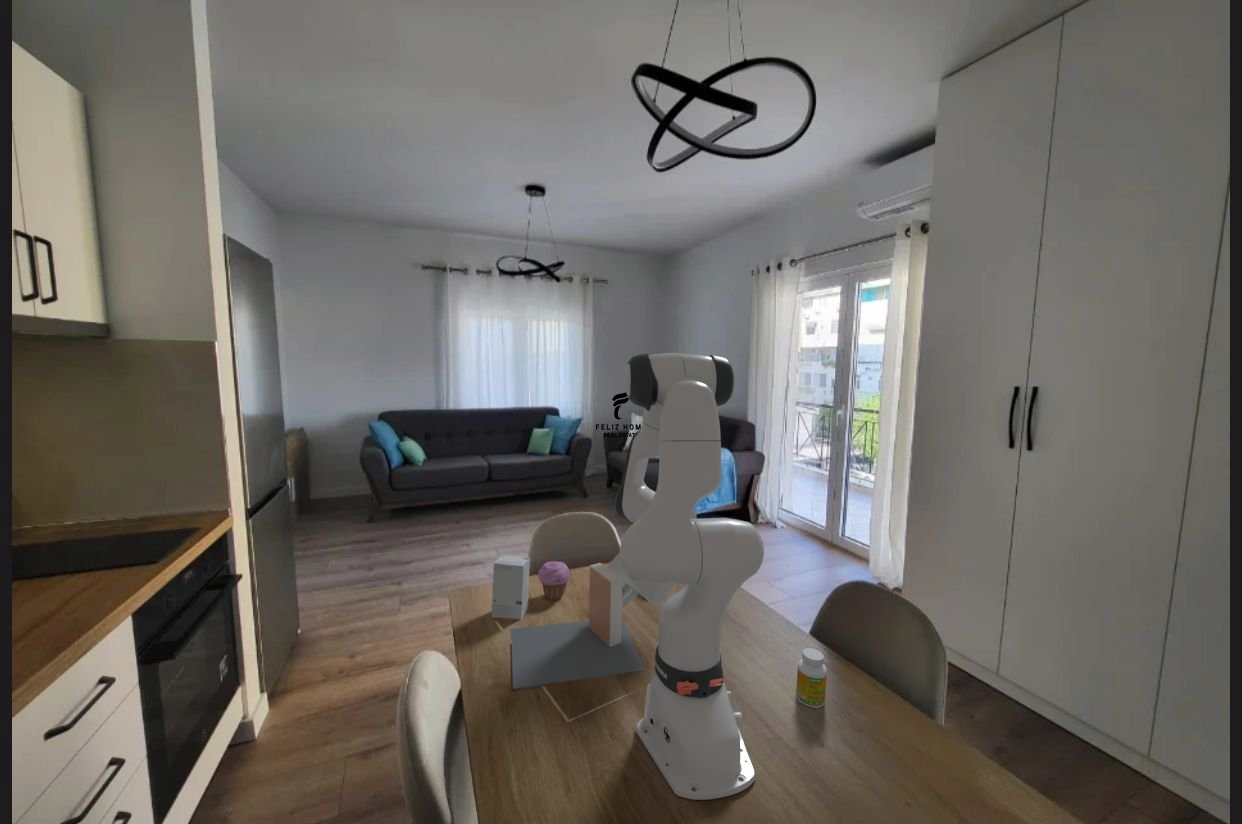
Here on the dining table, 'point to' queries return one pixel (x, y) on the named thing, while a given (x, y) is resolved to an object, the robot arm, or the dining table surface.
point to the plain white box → (605, 603)
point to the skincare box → (510, 587)
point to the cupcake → (554, 579)
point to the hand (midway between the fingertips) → (619, 603)
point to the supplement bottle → (811, 678)
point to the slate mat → (568, 654)
